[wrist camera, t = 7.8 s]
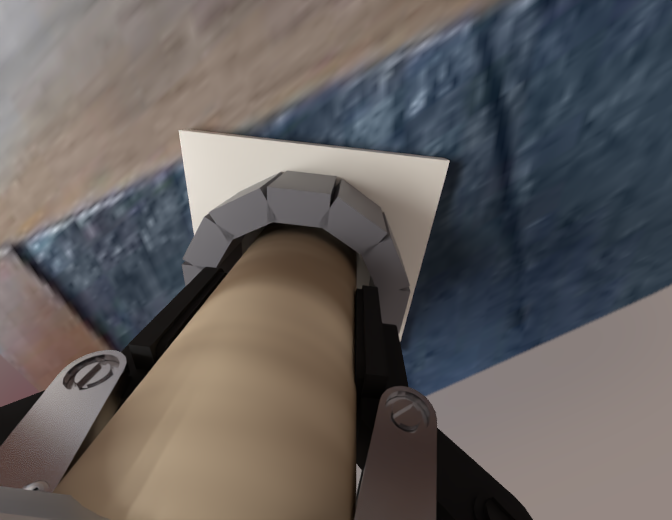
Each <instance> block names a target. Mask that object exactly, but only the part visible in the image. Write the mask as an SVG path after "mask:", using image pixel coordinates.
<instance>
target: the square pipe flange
mask: <svg viewBox="0 0 672 520" xmlns="http://www.w3.org/2000/svg"><path fill="white" fill-rule="evenodd" d="M179 136H180V143H181V149H182V156H183V163H184V170H185V177H186V183H187V190H188V197H189V204H190V210H191V217H192V224H193V231H194V237H193V239H192V241H191V243H190V245H189V247H188V249H187V251H186V253H185V255H184V257H183V260H185V262H184V263H183V264H182V268H183V274H184V280H185V285H186V286H187V285H188V284H189V283H190V282H191V281H192V280H193V279H194V278H195V277H196V276H197V275H198V274H199V273H200V272H201V270H202V269H203V268H205V267H215V268H222V269H223V271H224V273H227V274H228V273H229V272H230V270H231V269H232V268H233V267H234V265H235V264H236V263H237V262H238V260H239V259H240V258H241V257H242V255H243V254H244V253H245V252H246V250H247V249H248V248H249V247H250V245H251V244H252V243H253V242H254V240H255V239H256V238H257V237H258V235H259V234H260V233H261V232H262V230H263V229H264V228H265V227H266V226H267V225H268V224H270V223H272V222H276V223H285V224H293V225H302V226H310V227H319V228H323V229H324V230H326V231H327V232H329V233H330V234H332V235H333V236H335V237H336V238H337V239H339V240H340V241H342V242H343V243H345V244H346V245H348V246H349V247H351V248H352V249H353V250H355V251H356V257H357V288H358V289H362V286H363V285H366V286H374V287H378V293H379V301H380V310H381V318H382V323H385V324H393V325H396V326H397V329H398V334H399V339H400V341H401V338H402V334H403V330H404V327H405V323H406V319H407V316H408V312H409V308H410V305H411V301H412V297H413V294H414V290H415V286H416V283H417V279H418V275H419V272H420V268H421V264H422V261H423V257H424V253H425V250H426V246H427V242H428V239H429V235H430V231H431V228H432V224H433V220H434V217H435V213H436V210H437V206H438V202H439V199H440V195H441V191H442V188H443V184H444V180H445V177H446V173H447V169H448V166H449V162H450V161H449V160H447V159H445V158H440V157H431V156H422V155H413V154H405V153H396V152H387V151H378V150H369V149H360V148H351V147H342V146H334V145H325V144H316V143H307V142H298V141H289V140H280V139H271V138H263V137H254V136H245V135H236V134H227V133H218V132H209V131H200V130H192V129H186V130H179Z"/></svg>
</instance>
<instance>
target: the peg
mask: <svg viewBox="0 0 672 520" xmlns="http://www.w3.org/2000/svg"><path fill="white" fill-rule="evenodd" d="M356 289H357V257H356V251H355V250H353V249H352V248H351V247H349V246H348V245H346V244H345V243H343V242H342V241H340V240H339V239H337V238H336V237H335V236H333V235H332V234H330V233H329V232H327V231H326V230H324V229H323V228H319V227H310V226H302V225H293V224H285V223H276V222H272V223H270V224H268V225H267V226H266V227H265V228H264V229H263V230H262V232H261V233H260V234H259V235H258V237H257V238H256V239H255V240H254V242H253V243H252V244H251V245H250V247H249V248H248V249H247V250H246V252H245V253H244V254H243V255H242V257H241V258H240V259H239V260H238V262H237V263H236V264H235V265H234V267H233V268H232V269H231V270H230V272H229V273H228V274H227V275H226V277H225V278H224V279H223V280H222V281H221V283H220V284H219V285H218V286H217V288H216V289H215V290H214V291H213V293H212V294H211V295H210V296H209V298H208V299H207V300H206V301H205V303H204V304H203V305H202V306H201V308H200V309H199V310H198V311H197V313H196V314H195V315H194V316H193V318H192V319H191V320H190V321H189V323H188V324H187V325H186V326H185V328H184V329H183V330H182V331H181V333H180V334H179V335H178V336H177V338H176V339H175V340H174V341H173V343H172V344H171V345H170V346H169V348H168V349H167V350H166V351H165V353H164V354H163V355H162V356H161V357H160V359H159V360H158V361H157V362H156V364H155V365H154V366H153V367H152V369H151V370H150V371H149V372H148V374H147V375H146V376H145V377H144V379H143V380H142V381H141V382H140V384H139V385H138V386H137V387H136V389H135V390H134V391H133V392H132V394H131V395H130V396H129V397H128V399H127V400H126V401H125V402H124V404H123V405H122V406H121V407H120V409H119V410H118V411H117V412H116V414H115V415H114V416H113V417H112V419H111V420H110V421H109V422H108V424H107V425H106V426H105V427H104V429H103V430H102V431H101V432H100V433H99V435H98V436H97V437H96V438H95V440H94V441H93V442H92V443H91V445H90V446H89V447H88V448H87V450H86V451H85V452H84V453H83V455H82V456H81V457H80V458H79V460H78V461H77V462H76V463H75V465H74V466H73V467H72V468H71V470H70V471H69V472H68V473H67V475H66V476H65V477H64V478H63V480H62V481H61V482H60V483H59V485H58V486H57V487H56V488H55V490H54V491H53V492H52V493H57V494H65V495H71V496H72V497H73V498H74V499H75V500H77V501H78V502H79V503H80V504H81V505H82V506H83V507H85V508H87V509H89V510H91V511H92V512H94V513H96V514H98V515H99V516H102V517H105V518H108V519H111V520H354V515H355V509H356V386H355V304H356Z"/></svg>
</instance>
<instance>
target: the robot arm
mask: <svg viewBox="0 0 672 520" xmlns="http://www.w3.org/2000/svg"><path fill="white" fill-rule="evenodd" d="M226 275H227V273H224V271H223V269H222V268H215V267H205V268H203V269H202V270H201V272H200V273H199V274H198V275H197V276H196V277H195V278H194V279H193V280H192V281H191V282H190V283H189V284H188V285H187V286H186V287H185V288H184V289H183V290H182V291H181V292H180V293H179V294H178V295H177V296H176V297H175V298H174V299H173V300H172V301H171V302H170V303H169V304H168V305H167V306H166V307H165V308H164V309H163V310H162V311H161V312H160V313H159V314H158V315H157V316H156V317H155V318H154V319H153V320H152V321H151V322H150V323H149V324H148V325H147V326H146V327H145V328H144V329H143V330H142V331H141V332H140V333H139V334H138V335H137V336H136V337H135V338H134V339H133V340H132V341H131V342H130V343H129V344H128V345H127V346H126V347H125V349H124V350H123V351H122V352H118V351H115V350H104V351H98V352H94V353H91V354H88V355H85V356H83V357H81V358H79V359H77V360H75V361H74V362H72V363H71V364H69V365H68V366H66V367H65V368H64V369H63V370H62V371H61V372H60V373H59V374H58V376H57V377H56V378H55V379H54V381H53V382H52V383H51V384H50V386H49V387H48V388H47V389H46V390H45V391H42V392H39V393H37V394H34V395H31V396H29V397H26V398H24V399H21V400H18V401H16V402H13V403H10V404H8V405H5V406H3V407H0V520H111V519H108V518H105V517H102V516H99V515H98V514H96V513H94V512H92V511H91V510H89V509H87V508H85V507H83V506H82V505H81V504H80V503H79V502H78V501H77V500H75V499H74V498H73V497H72V496H71V495H65V494H57V493H52V492H53V491H54V490H55V488H56V487H57V486H58V485H59V483H60V482H61V481H62V480H63V478H64V477H65V476H66V475H67V473H68V472H69V471H70V470H71V468H72V467H73V466H74V465H75V463H76V462H77V461H78V460H79V458H80V457H81V456H82V455H83V453H84V452H85V451H86V450H87V448H88V447H89V446H90V445H91V443H92V442H93V441H94V440H95V438H96V437H97V436H98V435H99V433H100V432H101V431H102V430H103V429H104V427H105V426H106V425H107V424H108V422H109V421H110V420H111V419H112V417H113V416H114V415H115V414H116V412H117V411H118V410H119V409H120V407H121V406H122V405H123V404H124V402H125V401H126V400H127V399H128V397H129V396H130V395H131V394H132V392H133V391H134V390H135V389H136V387H137V386H138V385H139V384H140V382H141V381H142V380H143V379H144V377H145V376H146V375H147V374H148V372H149V371H150V370H151V369H152V367H153V366H154V365H155V364H156V362H157V361H158V360H159V359H160V357H161V356H162V355H163V354H164V353H165V351H166V350H167V349H168V348H169V346H170V345H171V344H172V343H173V341H174V340H175V339H176V338H177V336H178V335H179V334H180V333H181V331H182V330H183V329H184V328H185V326H186V325H187V324H188V323H189V321H190V320H191V319H192V318H193V316H194V315H195V314H196V313H197V311H198V310H199V309H200V308H201V306H202V305H203V304H204V303H205V301H206V300H207V299H208V298H209V296H210V295H211V294H212V293H213V291H214V290H215V289H216V288H217V286H218V285H219V284H220V283H221V281H222V280H223V279H224V278H225V277H226ZM355 386H356V463H357V464H358V466H359V467H360V468H361V475H360V480H359V484H358V488H357V493H356V509H355V515H354V520H533V519H532V518H531V516H530V515H529V513H528V512H527V511H526V509H525V507H524V506H523V505H522V504H521V503H520V502H519V501H518V500H517V499H516V498H515V497H514V496H513V495H512V494H511V493H510V492H509V491H508V490H506V489H505V488H504V487H503V486H502V485H501V484H499V482H497V481H496V480H495V479H494V478H493V477H492V476H491V475H490V474H489V473H487V472H486V471H485V470H484V469H483V468H482V467H481V466H479V465H478V464H477V463H476V462H475V461H474V460H473V459H472V458H471V457H469V456H468V455H467V454H466V453H465V452H464V451H463V450H462V449H460V448H459V447H458V446H457V445H456V444H455V443H454V442H453V441H452V440H450V439H449V438H448V437H447V436H446V435H445V434H443V432H441V431H440V430H439V429H438V428H437V418H436V412H435V410H434V408H433V406H432V404H431V403H430V402H429V400H427V398H426V397H425V396H424V395H422V394H421V393H420V392H418V391H416V390H414V389H412V388H410V387H408V382H407V377H406V371H405V366H404V361H403V355H402V350H401V345H400V339H399V334H398V329H397V326H396V325H393V324H385V323H382V318H381V310H380V301H379V293H378V287H374V286H366V285H363V286H362V289H358V288H357V289H356V304H355Z"/></svg>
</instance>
